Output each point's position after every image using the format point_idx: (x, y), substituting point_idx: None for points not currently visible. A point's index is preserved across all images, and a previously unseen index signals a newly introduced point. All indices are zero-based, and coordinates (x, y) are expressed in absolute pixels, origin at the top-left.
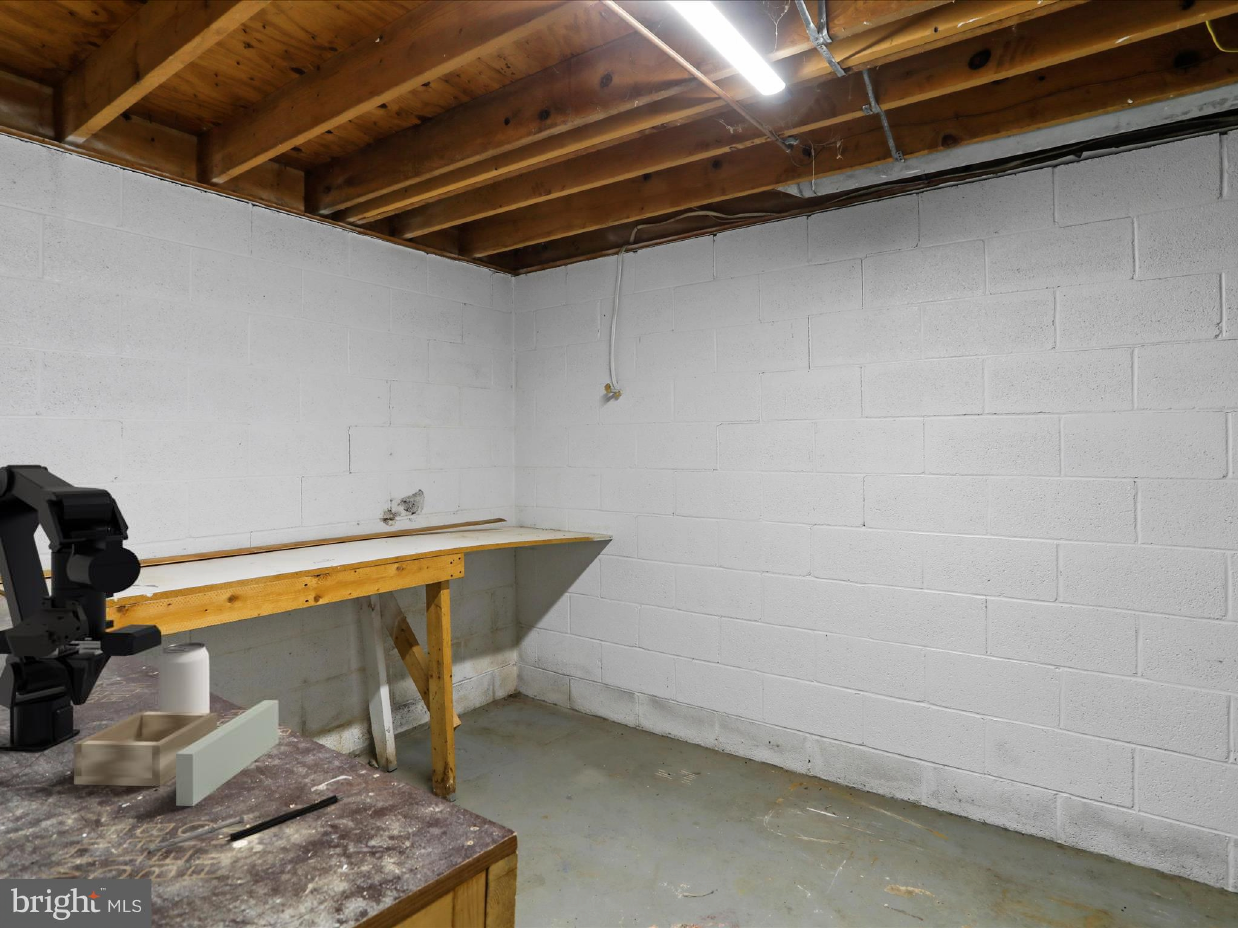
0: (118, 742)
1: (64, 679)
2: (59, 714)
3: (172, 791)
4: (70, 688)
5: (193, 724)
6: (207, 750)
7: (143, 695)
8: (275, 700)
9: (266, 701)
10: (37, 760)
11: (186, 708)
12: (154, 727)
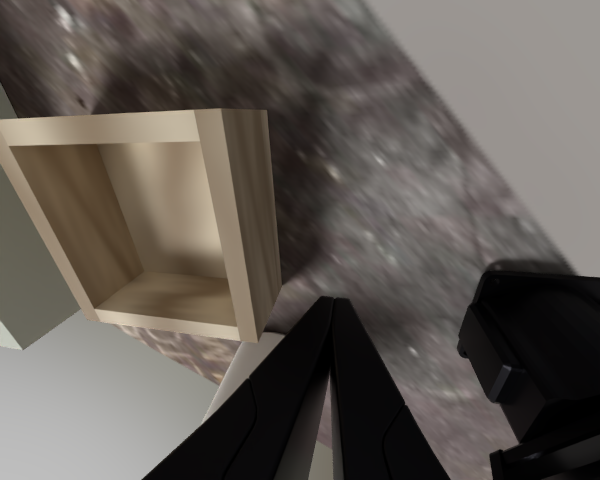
0: (98, 133)
1: (387, 421)
2: (498, 359)
3: (48, 98)
4: (346, 355)
5: (60, 260)
6: None
7: (455, 476)
8: (5, 346)
9: (13, 343)
10: (467, 232)
11: (230, 373)
12: (222, 300)
